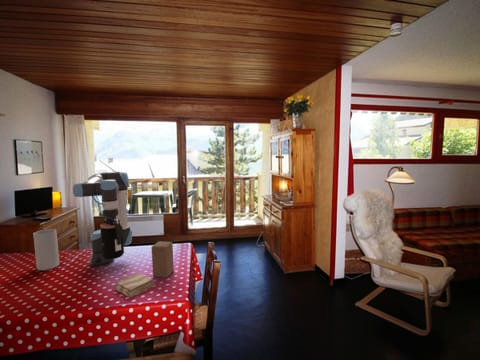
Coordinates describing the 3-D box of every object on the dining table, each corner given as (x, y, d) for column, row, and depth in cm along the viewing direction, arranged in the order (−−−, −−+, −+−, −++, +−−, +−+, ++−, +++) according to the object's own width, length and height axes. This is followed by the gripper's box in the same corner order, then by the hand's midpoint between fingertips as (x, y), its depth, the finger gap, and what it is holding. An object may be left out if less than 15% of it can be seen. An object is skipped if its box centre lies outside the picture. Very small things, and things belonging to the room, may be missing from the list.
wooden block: (167, 278, 156) (165, 247, 154) (152, 276, 158) (150, 246, 156) (174, 270, 166) (173, 241, 164) (160, 269, 168) (159, 240, 166)
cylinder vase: (32, 269, 172) (28, 233, 169) (52, 261, 183) (48, 228, 181) (44, 272, 167) (40, 235, 164) (63, 264, 179) (60, 230, 176)
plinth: (115, 289, 144) (115, 282, 144) (139, 278, 156) (138, 272, 156) (130, 297, 136) (130, 290, 135) (154, 285, 148) (153, 279, 147)
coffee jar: (108, 252, 143) (105, 221, 142) (127, 251, 144) (125, 221, 142) (98, 260, 133) (96, 227, 131) (119, 259, 133) (117, 226, 131)
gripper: (93, 207, 140) (96, 245, 142) (114, 212, 126) (117, 255, 128) (107, 204, 146) (109, 241, 148) (128, 209, 132) (131, 250, 134)
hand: (113, 248), depth 138 cm, fingers closed on coffee jar, 11 cm apart
